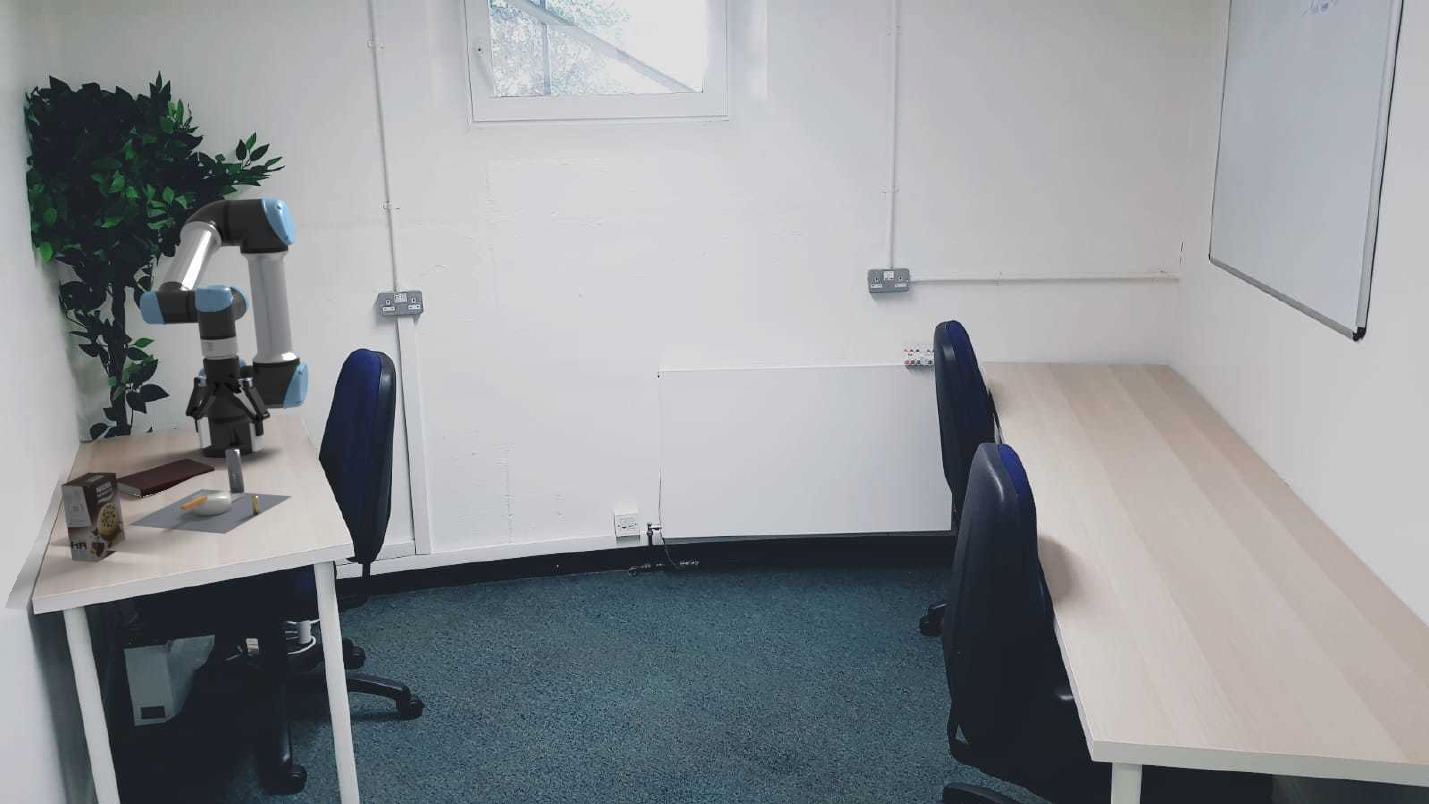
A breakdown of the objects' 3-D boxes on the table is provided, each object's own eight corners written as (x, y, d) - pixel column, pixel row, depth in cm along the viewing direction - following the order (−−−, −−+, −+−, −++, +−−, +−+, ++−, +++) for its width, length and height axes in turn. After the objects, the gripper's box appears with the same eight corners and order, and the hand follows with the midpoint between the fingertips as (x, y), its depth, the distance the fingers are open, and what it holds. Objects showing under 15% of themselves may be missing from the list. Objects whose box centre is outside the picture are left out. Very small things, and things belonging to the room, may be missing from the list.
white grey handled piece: (201, 524, 257) (194, 475, 255) (169, 521, 259) (162, 473, 257) (257, 495, 276) (251, 449, 273) (227, 492, 278) (221, 447, 275)
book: (216, 478, 295) (215, 465, 295) (142, 500, 280) (140, 487, 279) (187, 470, 302) (185, 457, 302) (112, 491, 287) (110, 478, 286)
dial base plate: (202, 495, 282) (199, 472, 280) (292, 502, 275) (290, 479, 274) (129, 531, 259) (125, 507, 258) (225, 540, 253) (222, 515, 252)
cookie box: (99, 562, 242) (88, 486, 238) (71, 560, 243) (58, 485, 239) (128, 545, 251) (117, 471, 247) (100, 544, 252) (88, 470, 248)
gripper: (161, 357, 267) (173, 449, 272) (259, 361, 260) (269, 455, 265) (183, 350, 274) (195, 440, 279) (279, 354, 267) (289, 446, 272)
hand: (231, 448), depth 272 cm, fingers open, 13 cm apart
